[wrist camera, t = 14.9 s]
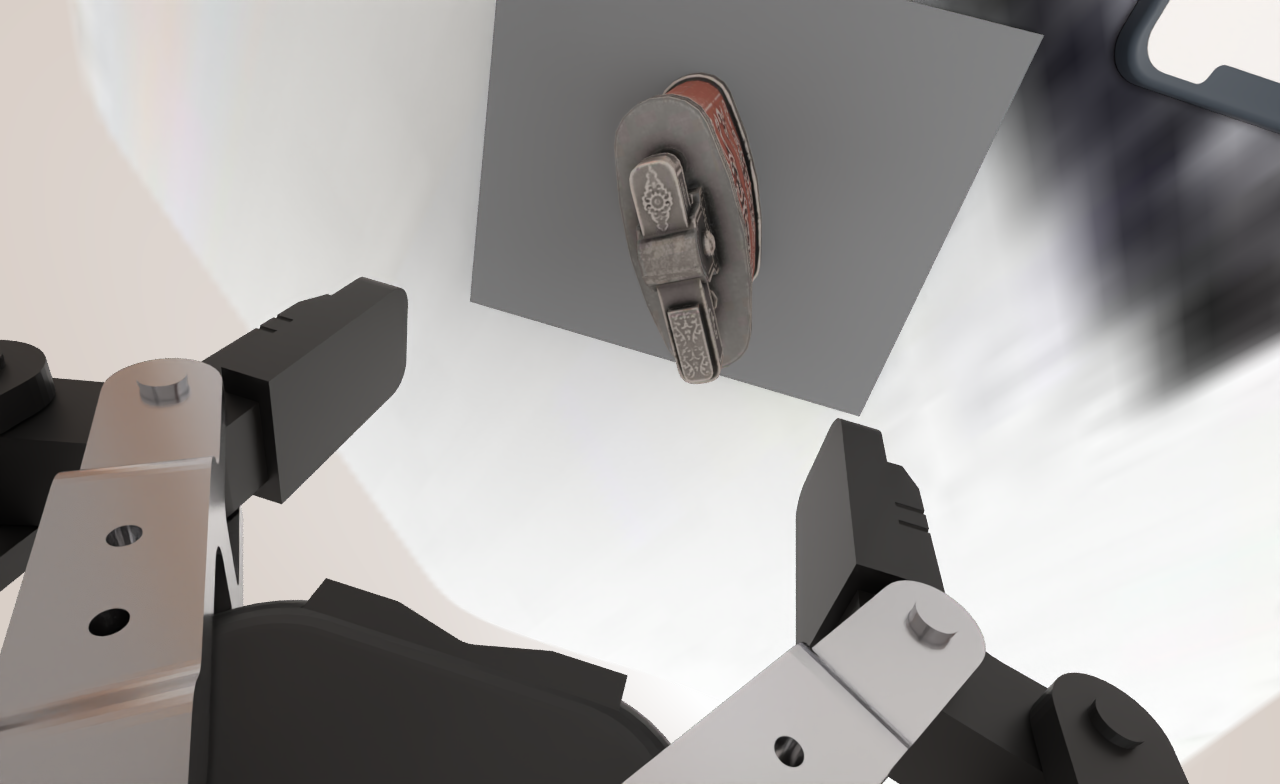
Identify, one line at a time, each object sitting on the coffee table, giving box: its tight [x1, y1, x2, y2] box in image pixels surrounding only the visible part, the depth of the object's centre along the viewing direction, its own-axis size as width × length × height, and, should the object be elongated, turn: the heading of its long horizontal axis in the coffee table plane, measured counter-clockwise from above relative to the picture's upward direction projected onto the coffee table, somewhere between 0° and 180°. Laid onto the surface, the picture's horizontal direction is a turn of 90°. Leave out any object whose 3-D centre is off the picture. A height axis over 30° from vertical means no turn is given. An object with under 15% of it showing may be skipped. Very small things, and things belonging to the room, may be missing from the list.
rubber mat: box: [470, 0, 1044, 416], centre depth 26 cm, size 15×18×1 cm
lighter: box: [614, 72, 762, 384], centre depth 21 cm, size 8×3×10 cm, turn 15°
